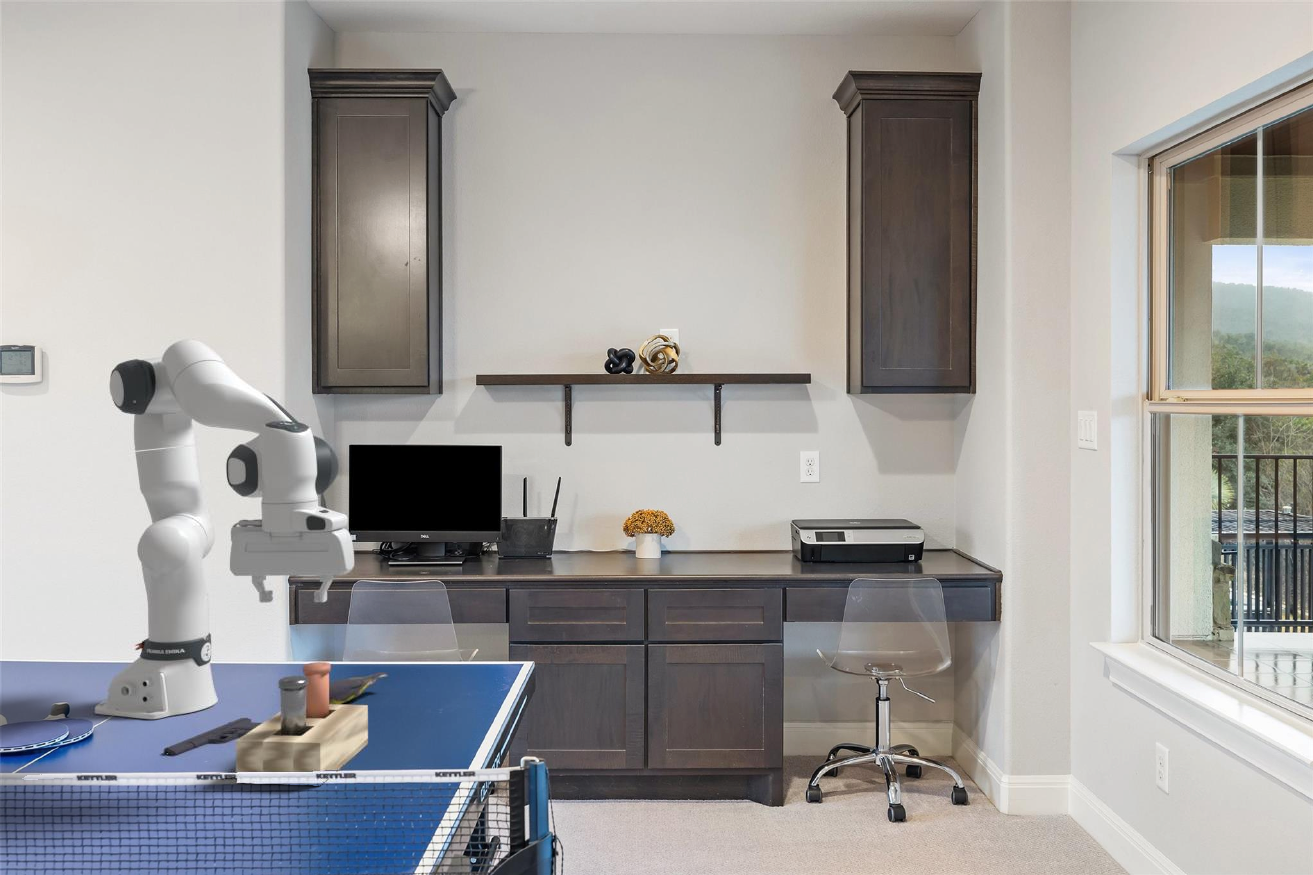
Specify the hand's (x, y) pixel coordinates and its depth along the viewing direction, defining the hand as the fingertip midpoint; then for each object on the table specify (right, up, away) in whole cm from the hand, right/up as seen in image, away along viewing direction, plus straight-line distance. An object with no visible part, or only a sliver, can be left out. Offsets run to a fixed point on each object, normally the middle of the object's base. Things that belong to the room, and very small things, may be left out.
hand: (293, 601), depth 157 cm
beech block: (0, -28, +4) cm, 29 cm away
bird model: (-4, -28, +39) cm, 48 cm away
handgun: (-18, -29, +15) cm, 37 cm away
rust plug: (+1, -23, +9) cm, 24 cm away
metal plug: (0, -23, 0) cm, 23 cm away
